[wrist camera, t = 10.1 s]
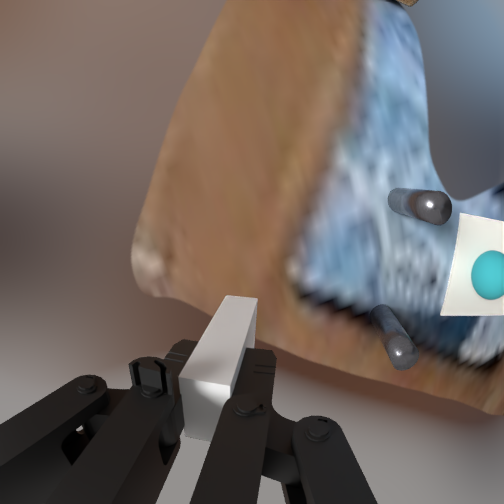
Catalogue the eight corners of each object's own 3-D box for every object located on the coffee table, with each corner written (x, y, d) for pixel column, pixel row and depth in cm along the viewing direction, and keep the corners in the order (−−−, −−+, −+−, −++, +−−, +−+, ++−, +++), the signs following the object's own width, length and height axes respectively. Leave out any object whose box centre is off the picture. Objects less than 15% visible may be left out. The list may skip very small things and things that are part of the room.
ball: (509, 258, 20) (468, 245, 25) (496, 310, 22) (458, 294, 27) (522, 256, 22) (486, 244, 27) (511, 302, 23) (477, 288, 28)
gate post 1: (392, 305, 29) (422, 345, 21) (388, 325, 30) (414, 370, 21) (372, 304, 30) (397, 345, 21) (367, 324, 30) (389, 370, 22)
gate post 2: (410, 189, 27) (453, 193, 18) (408, 213, 27) (449, 227, 18) (388, 186, 27) (426, 188, 18) (386, 211, 27) (423, 223, 19)
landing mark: (524, 226, 25) (525, 226, 25) (505, 314, 28) (505, 315, 27) (460, 212, 26) (460, 212, 26) (440, 314, 29) (440, 315, 29)
